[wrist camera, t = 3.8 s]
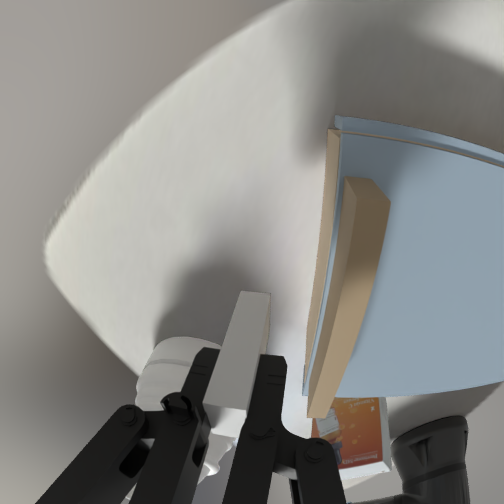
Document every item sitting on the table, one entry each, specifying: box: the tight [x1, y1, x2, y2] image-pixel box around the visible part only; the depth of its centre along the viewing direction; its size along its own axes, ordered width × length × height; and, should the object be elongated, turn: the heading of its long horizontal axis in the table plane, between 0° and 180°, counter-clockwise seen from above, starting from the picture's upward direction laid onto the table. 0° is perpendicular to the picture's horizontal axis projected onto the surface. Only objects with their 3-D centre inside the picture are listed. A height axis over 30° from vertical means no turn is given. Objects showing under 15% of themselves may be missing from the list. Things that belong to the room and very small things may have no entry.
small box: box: [311, 397, 392, 480], centre depth 25 cm, size 8×6×10 cm
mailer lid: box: [302, 115, 504, 418], centre depth 13 cm, size 19×22×6 cm
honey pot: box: [125, 337, 236, 499], centre depth 23 cm, size 13×13×18 cm
